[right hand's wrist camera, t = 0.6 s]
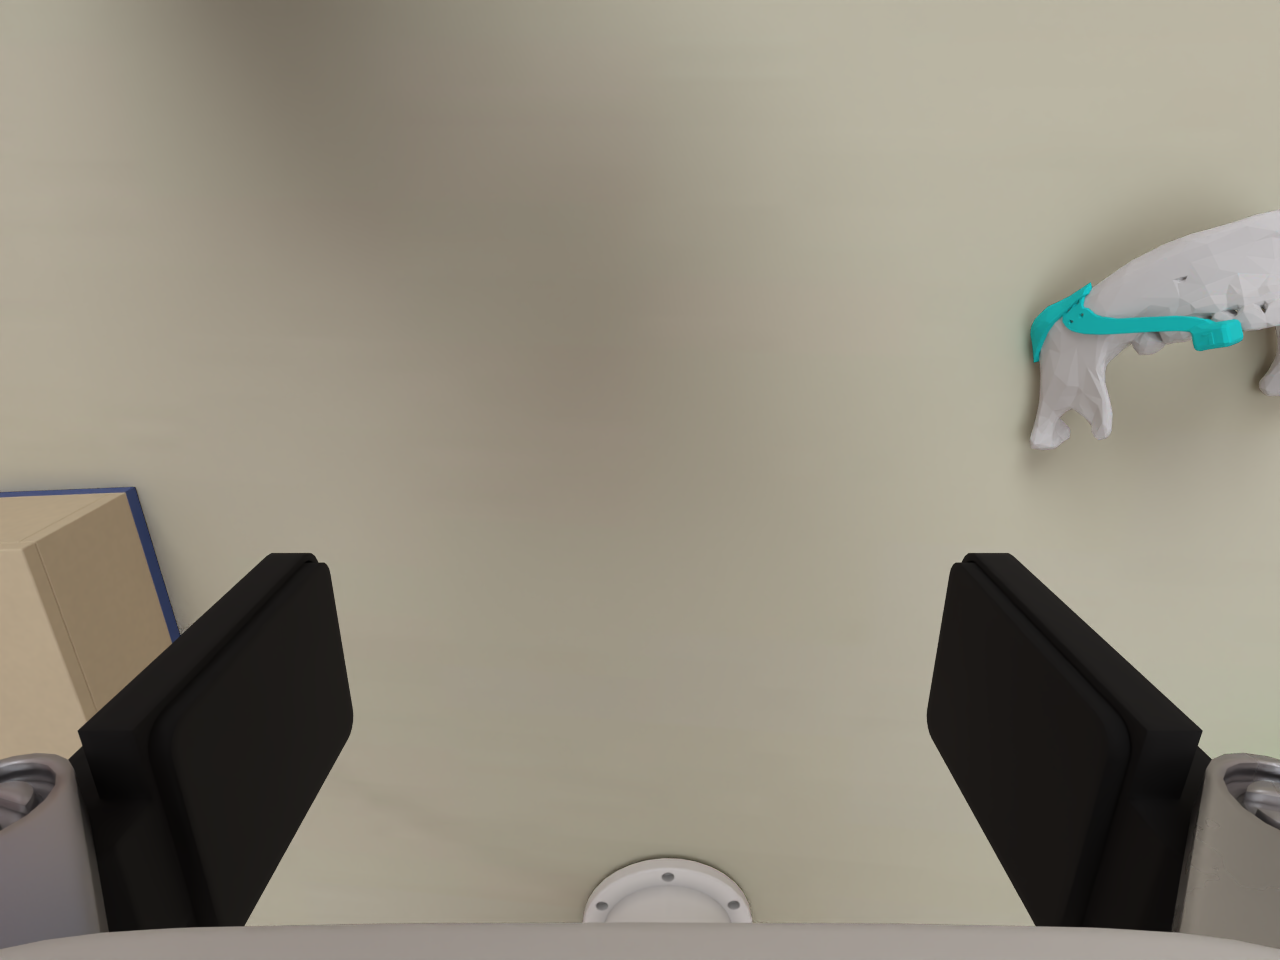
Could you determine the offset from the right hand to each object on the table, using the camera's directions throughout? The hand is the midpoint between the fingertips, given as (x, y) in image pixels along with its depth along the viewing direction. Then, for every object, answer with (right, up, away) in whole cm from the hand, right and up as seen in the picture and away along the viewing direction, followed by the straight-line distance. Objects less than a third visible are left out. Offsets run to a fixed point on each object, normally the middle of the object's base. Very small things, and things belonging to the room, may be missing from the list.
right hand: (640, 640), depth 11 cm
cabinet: (-35, -4, +34) cm, 49 cm away
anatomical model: (+28, +11, +28) cm, 41 cm away
